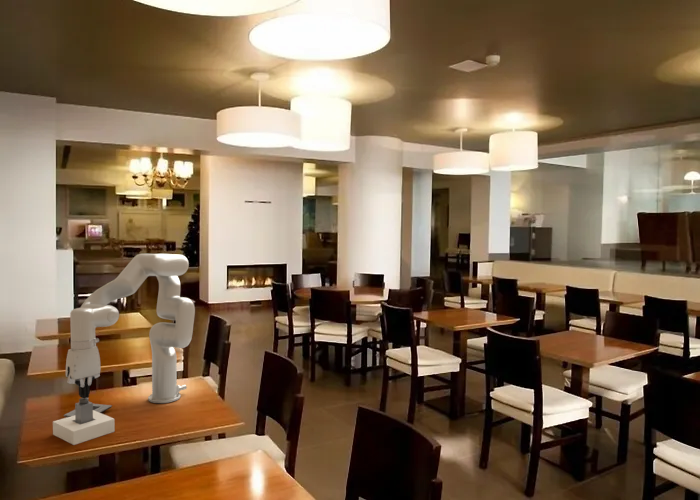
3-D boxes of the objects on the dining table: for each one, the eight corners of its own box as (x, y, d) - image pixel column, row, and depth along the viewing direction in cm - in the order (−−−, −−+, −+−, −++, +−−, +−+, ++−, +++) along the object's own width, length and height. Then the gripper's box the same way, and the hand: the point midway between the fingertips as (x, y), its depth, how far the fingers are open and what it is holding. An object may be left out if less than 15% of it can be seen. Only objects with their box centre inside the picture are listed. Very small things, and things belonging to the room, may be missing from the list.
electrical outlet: (89, 423, 189) (89, 416, 189) (63, 420, 191) (63, 414, 191) (112, 410, 202) (112, 404, 202) (88, 408, 204) (88, 402, 204)
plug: (87, 428, 182) (87, 395, 181) (92, 431, 179) (92, 398, 179) (75, 432, 178) (75, 398, 178) (81, 435, 176) (80, 401, 175)
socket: (93, 422, 189) (93, 410, 188) (114, 431, 180) (114, 418, 180) (53, 434, 177) (52, 421, 177) (73, 445, 169) (73, 431, 169)
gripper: (98, 338, 186) (99, 389, 187) (55, 346, 173) (56, 400, 175) (110, 341, 181) (111, 393, 182) (66, 350, 169) (67, 405, 170)
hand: (84, 396), depth 178 cm, fingers closed
